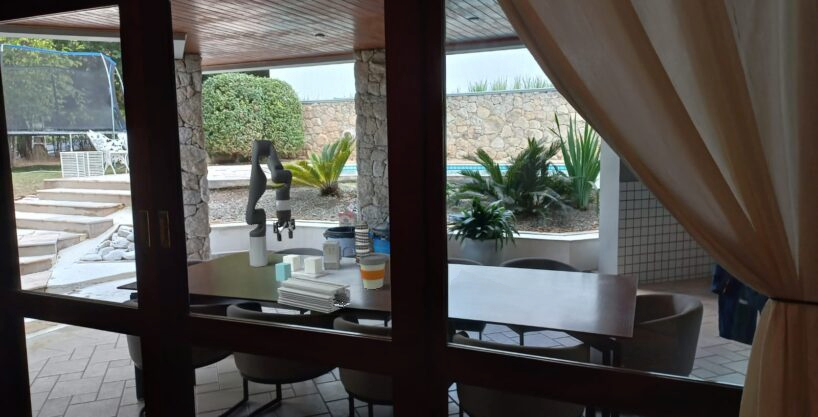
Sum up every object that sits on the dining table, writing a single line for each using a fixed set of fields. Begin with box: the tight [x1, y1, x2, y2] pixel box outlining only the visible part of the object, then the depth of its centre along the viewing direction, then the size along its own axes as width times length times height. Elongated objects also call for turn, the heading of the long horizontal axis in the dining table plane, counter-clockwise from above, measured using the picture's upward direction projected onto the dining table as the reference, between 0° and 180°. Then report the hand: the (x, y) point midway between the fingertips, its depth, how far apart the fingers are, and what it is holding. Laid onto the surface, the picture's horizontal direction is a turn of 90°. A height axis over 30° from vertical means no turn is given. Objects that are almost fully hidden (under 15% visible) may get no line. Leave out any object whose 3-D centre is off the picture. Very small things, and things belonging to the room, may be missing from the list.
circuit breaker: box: [322, 240, 343, 271], centre depth 317 cm, size 8×14×15 cm, turn 174°
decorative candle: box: [353, 219, 371, 266], centre depth 324 cm, size 9×9×25 cm
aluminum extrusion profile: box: [276, 276, 352, 314], centre depth 247 cm, size 14×31×10 cm, turn 55°
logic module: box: [274, 262, 292, 282], centre depth 291 cm, size 6×5×8 cm
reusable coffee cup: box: [359, 253, 387, 290], centre depth 271 cm, size 13×13×15 cm
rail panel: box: [282, 254, 330, 279], centre depth 304 cm, size 26×12×9 cm, turn 60°
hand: (285, 239), depth 290 cm, fingers open, 8 cm apart
